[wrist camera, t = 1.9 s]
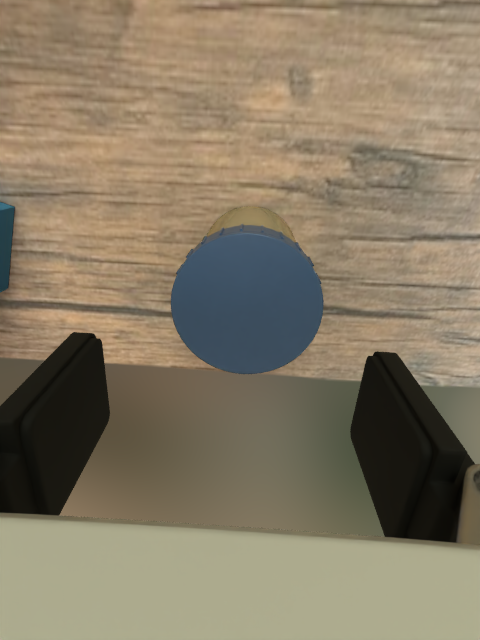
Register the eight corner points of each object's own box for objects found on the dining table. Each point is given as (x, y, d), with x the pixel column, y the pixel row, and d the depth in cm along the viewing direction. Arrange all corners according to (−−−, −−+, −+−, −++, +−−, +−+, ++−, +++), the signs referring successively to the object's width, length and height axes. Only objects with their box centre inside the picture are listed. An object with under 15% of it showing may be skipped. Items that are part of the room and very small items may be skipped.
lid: (328, 228, 17) (336, 237, 15) (308, 360, 20) (313, 380, 18) (176, 218, 17) (167, 226, 15) (178, 351, 20) (171, 370, 18)
